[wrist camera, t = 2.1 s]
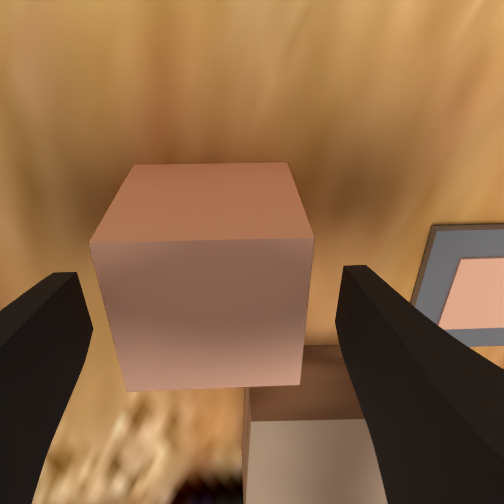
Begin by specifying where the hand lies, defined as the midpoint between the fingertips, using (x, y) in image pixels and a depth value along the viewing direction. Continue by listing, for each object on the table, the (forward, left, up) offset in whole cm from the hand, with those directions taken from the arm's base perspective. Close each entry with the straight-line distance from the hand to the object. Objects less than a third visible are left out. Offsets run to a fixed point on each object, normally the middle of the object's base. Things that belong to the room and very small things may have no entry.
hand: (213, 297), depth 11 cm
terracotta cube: (0, 0, -4) cm, 4 cm away
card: (+11, -3, -4) cm, 12 cm away
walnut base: (+5, -10, -4) cm, 12 cm away
